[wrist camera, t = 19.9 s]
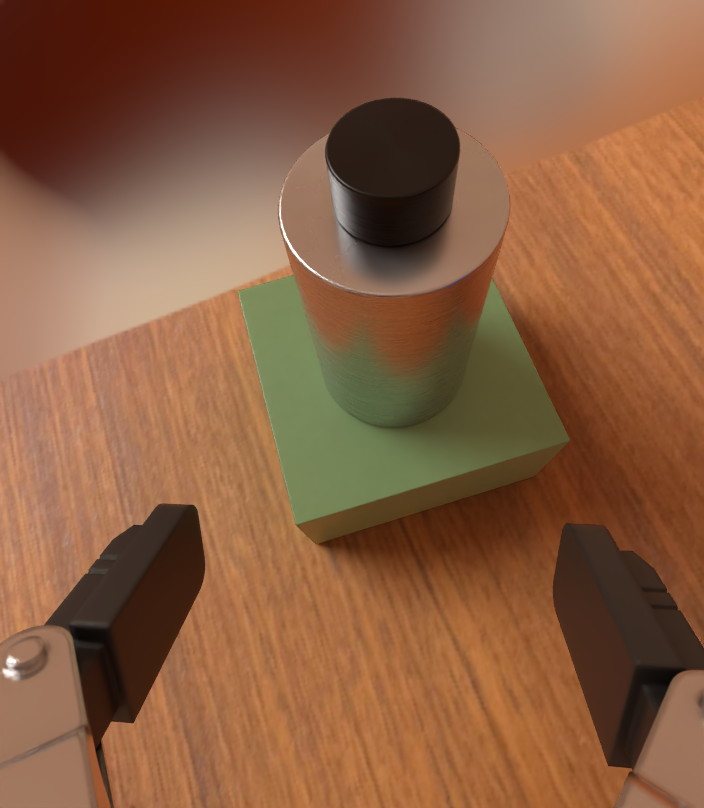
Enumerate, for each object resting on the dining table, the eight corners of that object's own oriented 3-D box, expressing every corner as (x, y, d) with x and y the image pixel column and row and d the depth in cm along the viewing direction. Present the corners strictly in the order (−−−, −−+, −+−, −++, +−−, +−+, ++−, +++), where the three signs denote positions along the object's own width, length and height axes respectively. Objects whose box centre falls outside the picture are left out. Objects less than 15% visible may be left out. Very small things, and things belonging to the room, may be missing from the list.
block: (315, 544, 23) (295, 525, 18) (264, 347, 27) (237, 290, 22) (535, 476, 23) (571, 440, 19) (454, 291, 27) (467, 224, 22)
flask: (328, 437, 19) (269, 270, 10) (316, 310, 21) (257, 73, 12) (477, 418, 19) (556, 231, 10) (450, 292, 21) (495, 39, 12)
